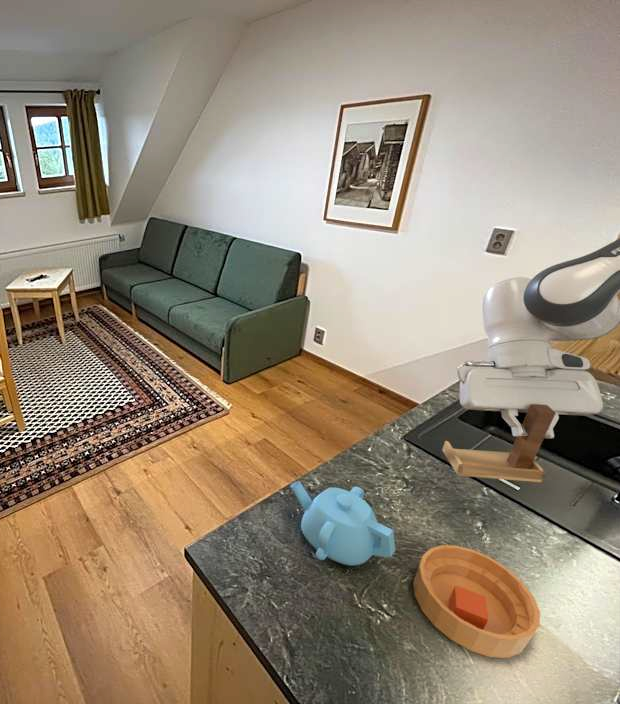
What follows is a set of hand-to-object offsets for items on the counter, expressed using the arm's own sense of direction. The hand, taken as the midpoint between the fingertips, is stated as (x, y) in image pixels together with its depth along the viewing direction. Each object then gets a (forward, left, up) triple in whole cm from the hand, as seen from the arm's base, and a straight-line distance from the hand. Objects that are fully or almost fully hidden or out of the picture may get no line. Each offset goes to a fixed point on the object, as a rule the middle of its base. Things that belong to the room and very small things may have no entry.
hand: (533, 437), depth 71 cm
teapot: (+33, -5, -21) cm, 40 cm away
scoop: (+4, -2, -8) cm, 9 cm away
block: (+22, +14, -21) cm, 33 cm away
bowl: (+20, +12, -21) cm, 32 cm away
